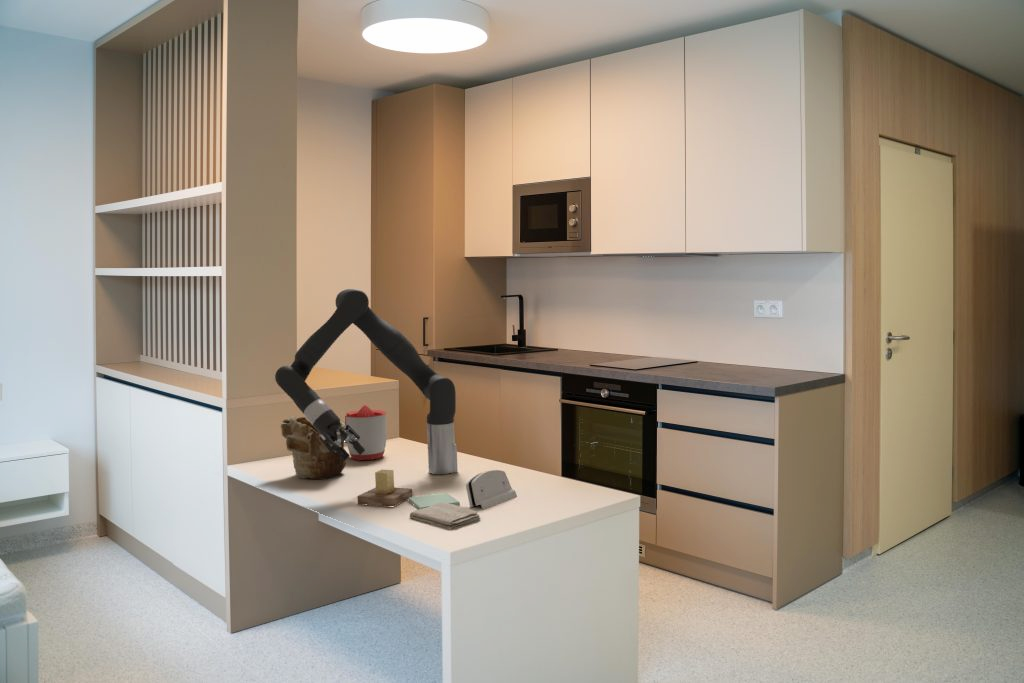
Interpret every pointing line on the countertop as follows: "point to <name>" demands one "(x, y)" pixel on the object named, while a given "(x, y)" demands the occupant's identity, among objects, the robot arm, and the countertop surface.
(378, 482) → the peg
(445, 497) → the mat
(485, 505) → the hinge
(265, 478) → the countertop surface
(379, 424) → the citrus juicer
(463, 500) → the countertop surface
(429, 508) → the washcloth
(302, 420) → the ceramic vessel
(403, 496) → the socket base
